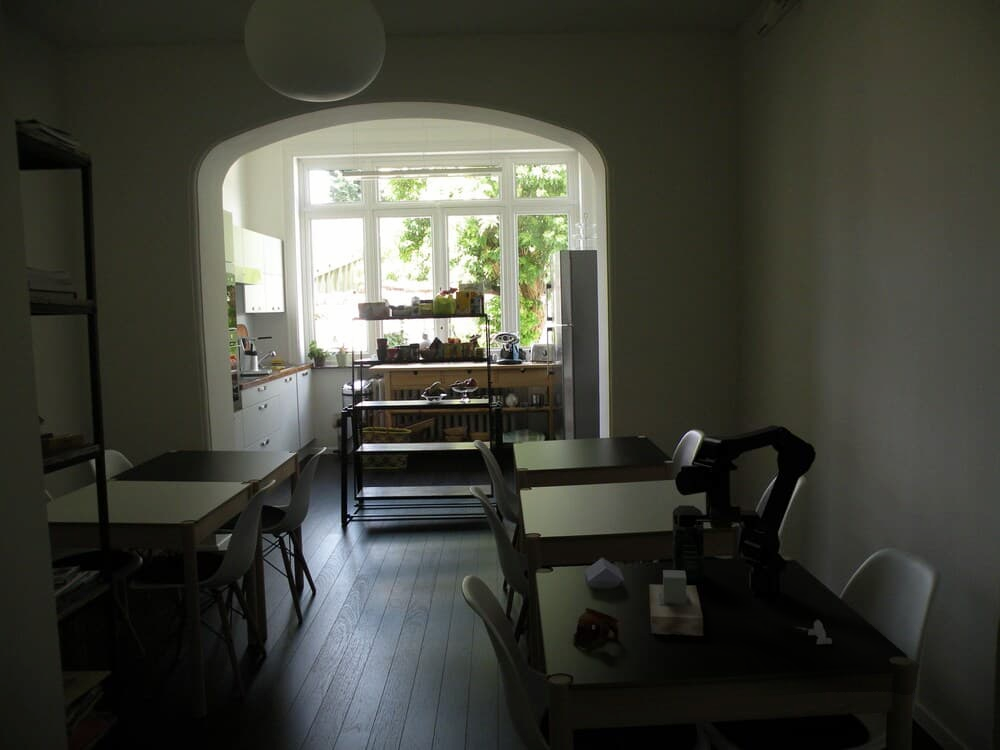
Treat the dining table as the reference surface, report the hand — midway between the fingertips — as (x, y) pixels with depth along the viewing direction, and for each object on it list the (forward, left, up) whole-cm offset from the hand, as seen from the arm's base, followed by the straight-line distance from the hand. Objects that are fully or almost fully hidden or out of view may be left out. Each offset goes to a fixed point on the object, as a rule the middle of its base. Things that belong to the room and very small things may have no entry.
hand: (718, 553), depth 190 cm
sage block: (+11, +10, -8) cm, 17 cm away
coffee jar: (+6, -18, -12) cm, 23 cm away
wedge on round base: (+28, -10, -12) cm, 32 cm away
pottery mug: (+28, +26, -12) cm, 40 cm away
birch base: (+11, +10, -12) cm, 19 cm away
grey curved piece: (-18, +16, -13) cm, 27 cm away
